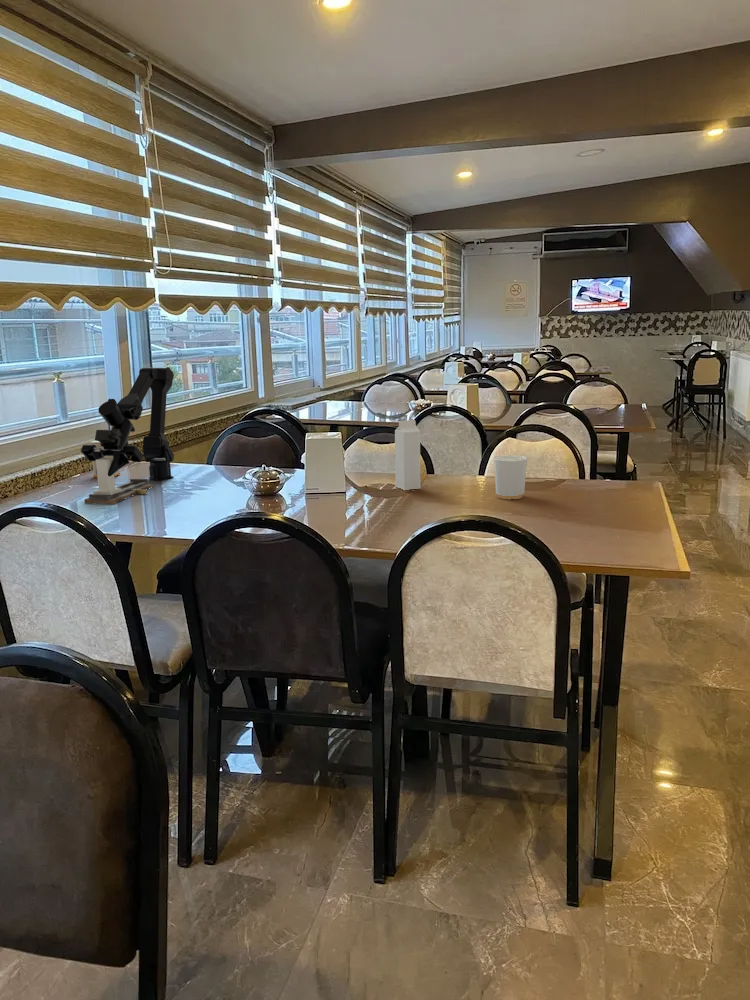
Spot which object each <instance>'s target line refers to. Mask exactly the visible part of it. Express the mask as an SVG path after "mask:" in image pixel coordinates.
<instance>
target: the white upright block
mask: <svg viewBox="0 0 750 1000" xmlns="http://www.w3.org/2000/svg"><path fill="white" fill-rule="evenodd" d="M112 461H113V458H100V459H97V460H96V469H97V477H96V478H97V486H98V487H97V488H98V489H96V490H93V491H92V494H98V495H108V496H109V495H113V494H115V493H118V492H120V491H121V488H115V487H116V480H115V477H114V474H113V475H112V476H108V471H109V468H110V466H111V463H112Z"/></svg>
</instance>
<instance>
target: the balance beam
mask: <svg viewBox="0 0 750 1000" xmlns="http://www.w3.org/2000/svg"><path fill="white" fill-rule="evenodd" d="M148 479H149V478H130V479H129V481H128V482H125V483H123V484H121V485H117V486H115V488H121V491H120V492H118V493H115V494H113V495H109V496H108V495H98V494H93V493H91V494H88V497H87V498H84V504H93V503H103V504H102V505H115V503H116V504H118V503H120V502H122V501H121V500H123V499H125V498H127V499H129V498H128V497H130V496H132V495H134V494H137V495H145V494H146V493H147V494H148V490H146V489H149V488H151V487H153V488H154V484H153V483H149V481H148ZM151 489H152V488H151ZM149 490H150V489H149ZM147 494H146V495H147ZM132 497H133V496H132ZM130 498H131V497H130ZM125 500H126V499H125ZM119 501H120V502H119ZM123 501H124V500H123ZM117 502H118V503H117ZM104 503H106V504H104Z"/></svg>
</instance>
